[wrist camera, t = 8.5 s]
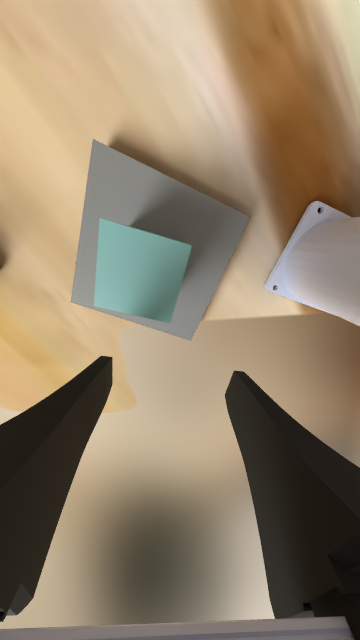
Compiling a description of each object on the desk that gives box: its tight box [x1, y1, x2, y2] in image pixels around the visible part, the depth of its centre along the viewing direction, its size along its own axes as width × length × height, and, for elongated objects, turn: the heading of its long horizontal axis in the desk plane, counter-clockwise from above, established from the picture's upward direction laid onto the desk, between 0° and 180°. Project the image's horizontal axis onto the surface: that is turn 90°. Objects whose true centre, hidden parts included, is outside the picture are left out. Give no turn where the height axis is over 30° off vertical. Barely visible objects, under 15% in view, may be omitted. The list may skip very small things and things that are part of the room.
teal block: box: [94, 218, 192, 323], centre depth 12 cm, size 4×4×6 cm
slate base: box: [71, 139, 251, 341], centre depth 16 cm, size 12×12×2 cm
